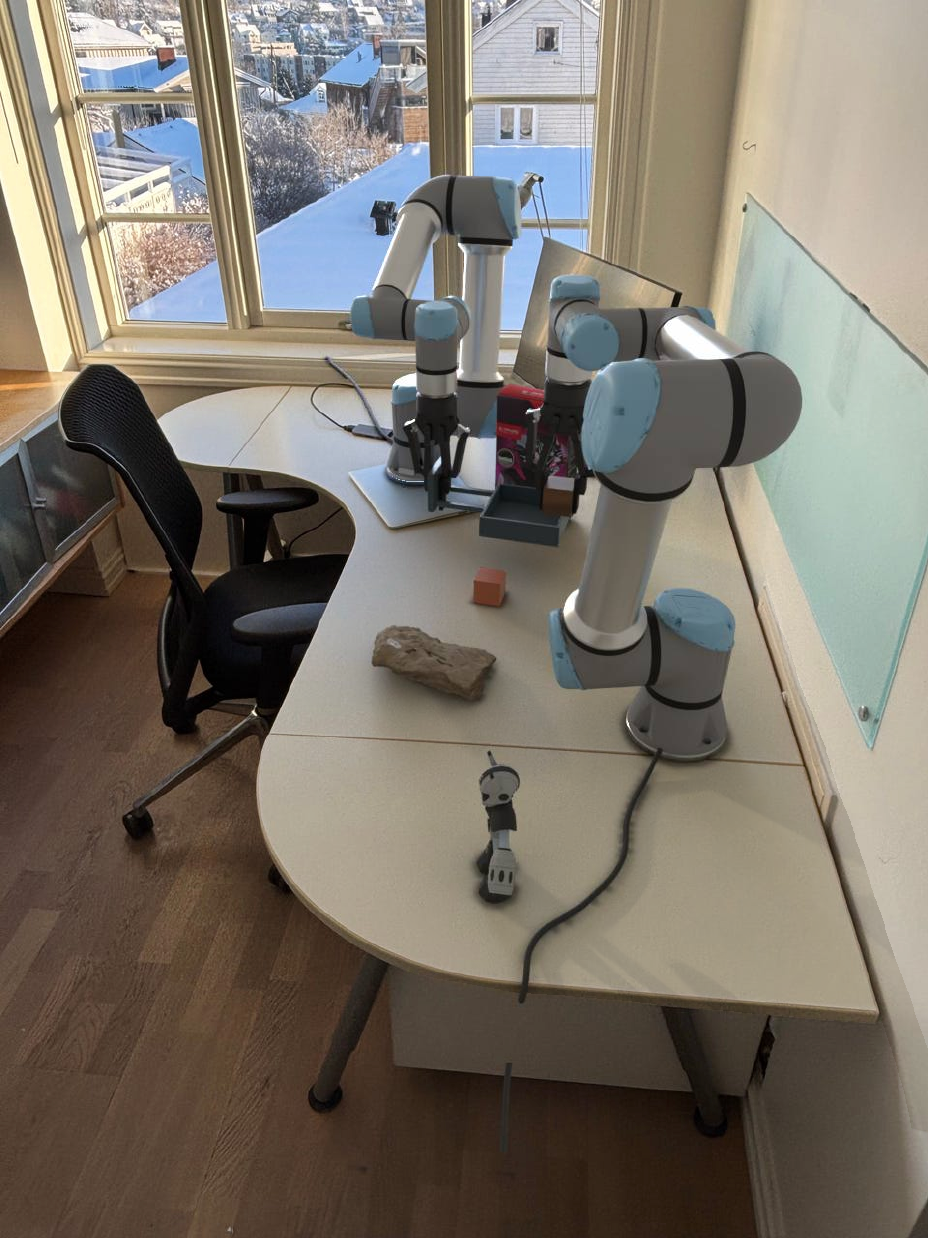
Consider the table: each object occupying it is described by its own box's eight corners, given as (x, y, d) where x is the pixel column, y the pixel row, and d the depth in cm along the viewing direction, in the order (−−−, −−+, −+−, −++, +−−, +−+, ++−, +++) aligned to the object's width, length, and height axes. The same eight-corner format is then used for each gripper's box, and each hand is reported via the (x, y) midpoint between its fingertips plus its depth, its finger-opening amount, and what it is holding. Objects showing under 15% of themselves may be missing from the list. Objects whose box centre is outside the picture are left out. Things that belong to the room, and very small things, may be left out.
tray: (572, 511, 183) (576, 464, 177) (558, 547, 171) (561, 498, 165) (445, 494, 189) (445, 448, 183) (423, 528, 176) (422, 480, 171)
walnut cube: (570, 517, 158) (572, 491, 155) (542, 513, 159) (543, 487, 156) (575, 504, 162) (577, 478, 159) (547, 500, 163) (549, 475, 160)
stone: (347, 674, 149) (354, 641, 146) (379, 641, 162) (386, 611, 160) (469, 718, 145) (478, 685, 143) (492, 681, 159) (500, 650, 156)
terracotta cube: (499, 606, 172) (499, 584, 169) (473, 602, 173) (473, 580, 170) (505, 593, 176) (506, 570, 173) (479, 589, 177) (480, 566, 174)
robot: (522, 941, 111) (530, 823, 99) (481, 942, 110) (485, 824, 99) (507, 820, 127) (513, 708, 116) (472, 821, 127) (474, 708, 115)
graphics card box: (491, 511, 204) (494, 391, 189) (505, 498, 209) (509, 381, 194) (563, 528, 197) (572, 406, 182) (575, 515, 202) (585, 395, 187)
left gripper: (479, 388, 170) (477, 503, 183) (406, 380, 173) (409, 494, 186) (469, 402, 164) (467, 520, 177) (393, 394, 167) (397, 510, 180)
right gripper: (627, 375, 149) (613, 505, 161) (518, 364, 152) (513, 492, 165) (621, 391, 142) (607, 524, 155) (508, 379, 146) (503, 511, 159)
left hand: (437, 506), depth 182 cm, fingers closed on tray
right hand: (559, 507), depth 160 cm, fingers closed on walnut cube, 5 cm apart
